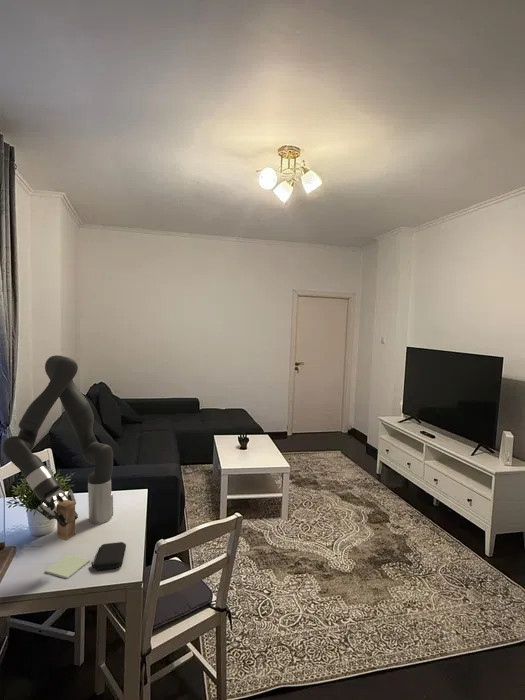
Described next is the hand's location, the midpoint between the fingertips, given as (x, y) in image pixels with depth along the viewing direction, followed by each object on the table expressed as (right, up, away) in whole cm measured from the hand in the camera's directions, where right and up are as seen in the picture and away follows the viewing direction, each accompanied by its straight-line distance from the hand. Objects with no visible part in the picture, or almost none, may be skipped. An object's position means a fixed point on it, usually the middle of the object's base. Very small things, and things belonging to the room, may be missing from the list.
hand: (70, 521), depth 138 cm
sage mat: (-2, -17, +2) cm, 17 cm away
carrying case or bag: (+10, -17, +7) cm, 21 cm away
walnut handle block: (-2, -5, +1) cm, 6 cm away
